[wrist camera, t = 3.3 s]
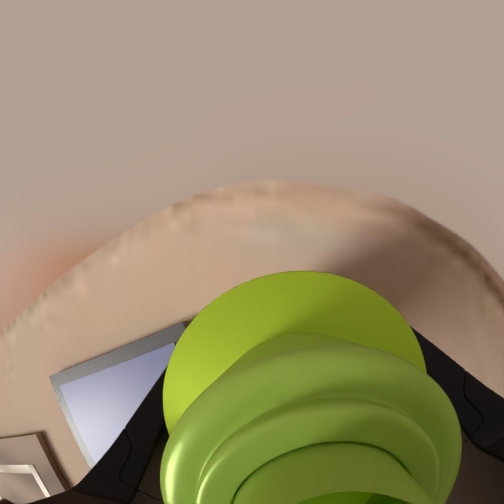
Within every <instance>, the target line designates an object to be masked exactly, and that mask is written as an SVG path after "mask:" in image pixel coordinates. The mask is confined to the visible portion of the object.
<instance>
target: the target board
mask: <svg viewBox="0 0 504 504" xmlns="http://www.w3.org/2000/svg"><path fill="white" fill-rule="evenodd" d="M69 489H70V487H69V485H68V484H67V482H66V480H65V479H64V477H63V475H62V473H61V471H60V470H59V468H58V466H57V464H56V462H55V460H54V458H53V456H52V454H51V452H50V450H49V448H48V446H47V444H46V442H45V440H44V438H43V435H42V433H41V432H40V433H35V434H28V435H22V436H15V437H7V438H0V500H1V499H3V498H5V499H8V500H10V501H12V502H14V503H16V504H26V503H31V502H34V501H37V500H40V499H43V498H47V497H50V496H53V495H55V494H58V493H61V492H64V491H67V490H69Z"/></svg>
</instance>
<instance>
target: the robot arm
mask: <svg viewBox="0 0 504 504" xmlns="http://www.w3.org/2000/svg"><path fill="white" fill-rule="evenodd" d="M410 328H411V329H412V331H413V333H414V334H415V336H416V338H417V341H418V343H419V345H420V348H421V351H422V354H423V357H424V361H425V366H426V373H427V374H428V375H429V376H430V377H431V378H432V379H433V380H434V381H435V382H436V383H437V384H438V385H439V386H440V387H441V388H442V389H443V391H444V392H445V393H446V395H447V396H448V398H449V399H450V401H451V403H452V405H453V407H454V409H455V411H456V414H457V417H458V420H459V424H460V429H461V436H462V454H461V461H460V466H459V471H458V474H457V478H456V481H455V484H454V486H453V489H452V491H451V493H450V495H449V497H448V499H447V501H446V502H445V504H504V398H503V397H501V396H500V395H498V394H497V393H495V392H494V391H492V390H491V389H489V388H488V387H486V386H485V385H484V384H482V383H481V382H480V381H479V380H477V379H476V378H475V377H473V376H472V375H471V374H470V373H469V372H467V371H465V369H464V368H462V367H461V366H460V365H459V364H457V363H456V362H455V361H454V360H452V359H451V358H450V357H449V356H448V355H446V354H445V353H444V352H443V351H441V350H440V349H439V348H437V347H436V346H435V345H434V344H432V343H431V342H430V341H429V340H427V339H426V338H425V337H424V336H422V335H421V334H420V333H418V332H417V331H416V330H415V329H413V328H412V327H411V326H410ZM167 366H168V365H167ZM166 370H167V367H166V368H165V370H164V371H163V372H162V374H161V375H160V377H159V378H158V380H157V381H156V382H155V384H154V385H153V387H152V388H151V390H150V391H149V393H148V394H147V395H146V397H145V398H144V400H143V401H142V403H141V404H140V406H139V407H138V408H137V410H136V411H135V413H134V414H133V416H132V417H131V419H130V420H129V421H128V423H127V424H126V426H125V428H124V429H123V430H122V431H121V433H120V434H119V436H118V437H117V438H116V440H115V441H114V443H113V444H112V445H111V447H110V448H109V449H108V450H107V452H106V453H105V454H104V455H103V456H102V458H101V459H100V460H99V461H98V462H97V463H96V465H95V466H94V467H93V468H92V469H91V470H90V471H89V472H88V474H87V475H86V476H85V477H84V478H83V479H82V480H81V481H80V482H79V483H78V484H77V485H76V486H74V487H73V488H71V489H69V490H67V491H64V492H61V493H58V494H55V495H53V496H50V497H47V498H43V499H40V500H37V501H34V502H31V503H26V504H164V501H163V498H162V493H161V486H160V468H161V461H162V457H163V453H164V450H165V447H166V444H167V441H168V439H169V437H170V436H169V434H168V430H167V427H166V423H165V418H164V411H163V386H164V379H165V374H166ZM0 504H16V503H14V502H12V501H10V500H8V499H5V498H3V499H1V500H0Z"/></svg>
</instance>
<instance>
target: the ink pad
mask: <svg viewBox="0 0 504 504" xmlns="http://www.w3.org/2000/svg"><path fill="white" fill-rule="evenodd" d="M187 327H188V322H180V323H178V324H176V325H173V326H171V327H169V328H166V329H164V330H162V331H159V332H157V333H155V334H152V335H150V336H148V337H145V338H143V339H141V340H138V341H136V342H133V343H131V344H129V345H126V346H124V347H121V348H119V349H116V350H114V351H112V352H109V353H107V354H104V355H102V356H99V357H97V358H94V359H92V360H89V361H87V362H84V363H82V364H79V365H77V366H74V367H71V368H69V369H66V370H64V371H61V372H59V373H56V374H53V375H51V376H49V377H50V380H51V382H52V385H53V388H54V391H55V393H56V396H57V398H58V401H59V403H60V406H61V408H62V411H63V413H64V415H65V418H66V420H67V422H68V424H69V427H70V429H71V431H72V433H73V435H74V437H75V439H76V442H77V444H78V446H79V448H80V450H81V452H82V453H83V455H84V457H85V459H86V461H87V463H88V465H89V467H90V468H91V469H92V468H93V467H94V466H95V465H96V463H97V462H98V461H99V460H100V459H101V458H102V456H103V455H104V454H105V453H106V452H107V450H108V449H109V448H110V447H111V445H112V444H113V443H114V441H115V440H116V438H117V437H118V436H119V434H120V433H121V431H122V430H123V429H124V428H125V426H126V424H127V423H128V421H129V420H130V419H131V417H132V416H133V414H134V413H135V411H136V410H137V408H138V407H139V406H140V404H141V403H142V401H143V400H144V398H145V397H146V395H147V394H148V393H149V391H150V390H151V388H152V387H153V385H154V384H155V382H156V381H157V380H158V378H159V377H160V375H161V374H162V372H163V371H164V370H165V368H166V367H167V365H168V363H169V360H170V357H171V355H172V352H173V350H174V348H175V346H176V344H177V342H178V340H179V339H180V337H181V335H182V334H183V332H184V331H185V330H186V328H187Z"/></svg>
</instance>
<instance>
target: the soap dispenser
mask: <svg viewBox="0 0 504 504" xmlns="http://www.w3.org/2000/svg"><path fill="white" fill-rule="evenodd" d="M163 411H164V418H165V423H166V427H167V430H168V434H169V436H170V437H169V439H168V441H167V444H166V447H165V450H164V453H163V457H162V461H161V468H160V486H161V493H162V498H163V501H164V504H445V502H446V501H447V499H448V497H449V495H450V493H451V491H452V489H453V486H454V484H455V481H456V478H457V474H458V471H459V466H460V461H461V454H462V436H461V429H460V424H459V420H458V417H457V414H456V411H455V409H454V407H453V405H452V403H451V401H450V399H449V398H448V396H447V395H446V393H445V392H444V391H443V389H442V388H441V387H440V386H439V385H438V384H437V383H436V382H435V381H434V380H433V379H432V378H431V377H430V376H429V375H428V374H427V373H426V366H425V361H424V357H423V354H422V351H421V348H420V345H419V343H418V341H417V338H416V336H415V334H414V333H413V331H412V329H411V328H410V326H409V324H408V323H407V322H406V320H405V319H404V318H403V316H402V315H401V314H400V313H399V312H398V311H397V310H396V308H394V307H393V306H392V305H391V304H390V303H389V302H388V301H387V300H386V299H384V298H383V297H382V296H380V295H379V294H378V293H376V292H375V291H373V290H371V289H370V288H368V287H366V286H364V285H362V284H360V283H358V282H356V281H353V280H351V279H348V278H345V277H342V276H338V275H334V274H329V273H323V272H315V271H289V272H281V273H275V274H270V275H266V276H262V277H259V278H256V279H253V280H250V281H248V282H245V283H243V284H241V285H238V286H236V287H234V288H233V289H231V290H229V291H227V292H226V293H224V294H222V295H221V296H219V297H218V298H217V299H215V300H214V301H213V302H211V303H210V304H209V305H208V306H206V307H205V308H204V309H203V310H202V311H201V312H200V313H199V314H198V315H197V316H196V317H195V318H194V319H193V321H192V322H191V323H190V324H189V325H188V327H187V328H186V330H185V331H184V332H183V334H182V335H181V337H180V339H179V340H178V342H177V344H176V346H175V348H174V350H173V352H172V355H171V357H170V360H169V363H168V366H167V370H166V374H165V379H164V386H163Z"/></svg>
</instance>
